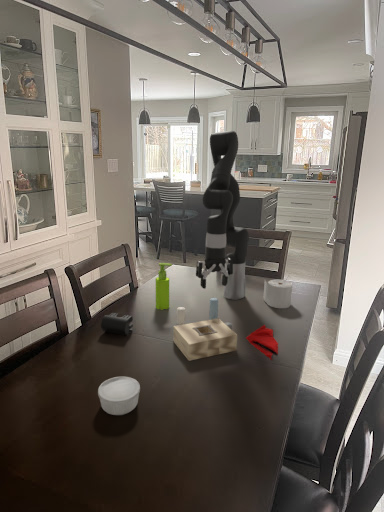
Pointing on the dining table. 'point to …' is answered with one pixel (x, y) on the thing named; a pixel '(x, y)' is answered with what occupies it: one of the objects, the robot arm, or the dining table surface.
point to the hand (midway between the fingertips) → (213, 286)
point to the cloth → (263, 340)
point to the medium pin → (180, 316)
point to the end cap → (117, 324)
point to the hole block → (204, 339)
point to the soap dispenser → (162, 288)
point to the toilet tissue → (278, 293)
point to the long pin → (213, 308)
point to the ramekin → (119, 395)
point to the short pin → (229, 325)
